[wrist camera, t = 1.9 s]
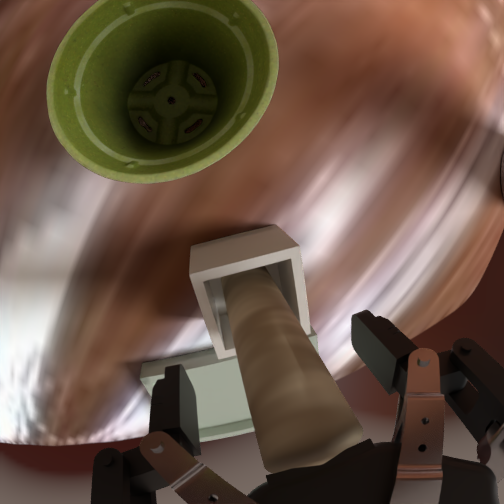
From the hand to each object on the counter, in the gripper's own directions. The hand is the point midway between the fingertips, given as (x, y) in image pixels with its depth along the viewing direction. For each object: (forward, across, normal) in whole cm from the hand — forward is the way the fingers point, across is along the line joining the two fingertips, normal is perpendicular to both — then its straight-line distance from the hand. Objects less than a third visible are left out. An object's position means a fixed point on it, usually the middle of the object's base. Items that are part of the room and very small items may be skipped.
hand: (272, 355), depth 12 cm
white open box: (+10, 0, 0) cm, 10 cm away
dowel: (+9, 0, 0) cm, 9 cm away
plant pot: (+10, +2, -13) cm, 16 cm away
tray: (+10, +3, +12) cm, 15 cm away
